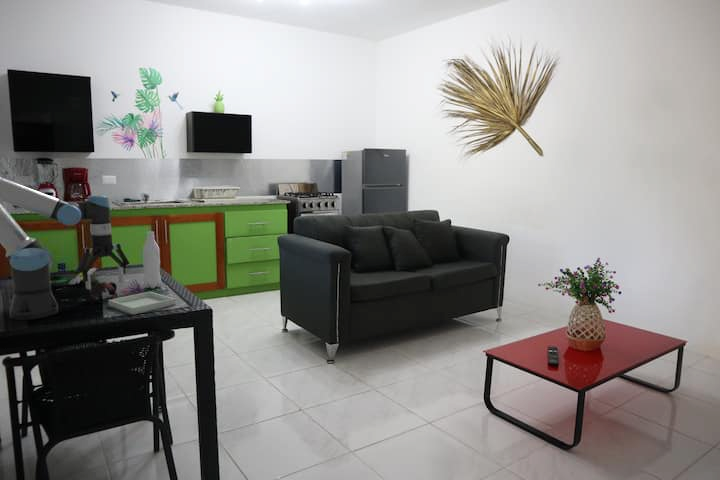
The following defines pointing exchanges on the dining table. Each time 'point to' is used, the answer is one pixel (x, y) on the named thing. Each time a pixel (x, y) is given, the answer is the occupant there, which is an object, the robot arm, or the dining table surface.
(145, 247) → the water bottle
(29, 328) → the dining table surface
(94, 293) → the broken clay pot
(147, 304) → the tray
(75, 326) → the dining table surface
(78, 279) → the decorative flower
